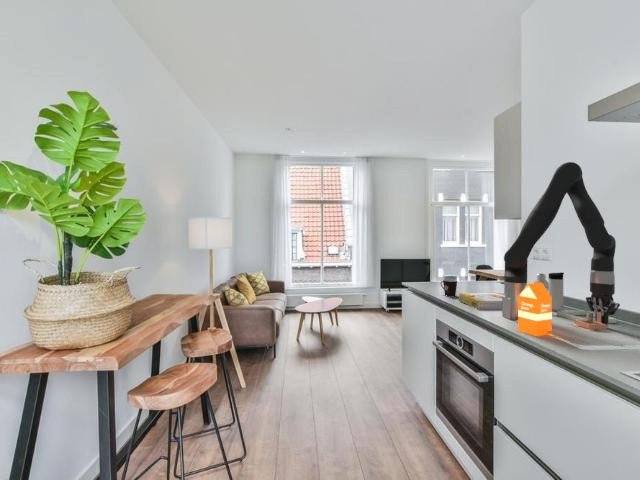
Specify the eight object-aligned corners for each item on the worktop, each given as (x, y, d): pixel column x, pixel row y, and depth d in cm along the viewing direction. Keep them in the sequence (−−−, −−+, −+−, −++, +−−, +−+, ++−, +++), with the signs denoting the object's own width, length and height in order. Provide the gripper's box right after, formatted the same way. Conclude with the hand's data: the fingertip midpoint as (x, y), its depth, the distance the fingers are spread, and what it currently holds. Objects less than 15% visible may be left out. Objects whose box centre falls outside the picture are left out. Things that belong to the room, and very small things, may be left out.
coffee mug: (459, 296, 198) (459, 281, 198) (446, 297, 198) (446, 281, 198) (452, 293, 209) (452, 279, 209) (439, 293, 210) (439, 279, 209)
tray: (582, 325, 133) (582, 318, 133) (556, 316, 148) (556, 310, 148) (616, 325, 133) (616, 318, 133) (587, 316, 148) (587, 310, 148)
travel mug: (566, 312, 157) (566, 273, 157) (552, 311, 158) (552, 273, 158) (559, 309, 163) (559, 271, 163) (545, 308, 164) (545, 271, 164)
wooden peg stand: (588, 334, 122) (588, 316, 122) (567, 326, 132) (568, 310, 132) (613, 334, 122) (613, 316, 121) (591, 326, 132) (591, 310, 131)
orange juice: (517, 330, 127) (518, 282, 127) (532, 328, 130) (532, 281, 130) (537, 336, 119) (537, 285, 119) (552, 333, 123) (552, 283, 122)
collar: (588, 328, 123) (589, 313, 123) (574, 323, 130) (575, 309, 130) (614, 329, 123) (614, 314, 123) (598, 324, 130) (598, 310, 130)
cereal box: (458, 292, 184) (503, 292, 185) (458, 301, 184) (503, 301, 186) (477, 300, 164) (528, 299, 165) (477, 310, 164) (528, 309, 165)
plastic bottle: (550, 313, 155) (550, 273, 155) (548, 315, 150) (548, 275, 150) (534, 311, 159) (534, 272, 159) (532, 313, 154) (532, 274, 154)
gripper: (578, 279, 133) (578, 319, 133) (608, 284, 119) (608, 328, 120) (596, 279, 133) (596, 319, 133) (627, 284, 119) (627, 328, 120)
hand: (601, 323), depth 127 cm, fingers closed on collar
